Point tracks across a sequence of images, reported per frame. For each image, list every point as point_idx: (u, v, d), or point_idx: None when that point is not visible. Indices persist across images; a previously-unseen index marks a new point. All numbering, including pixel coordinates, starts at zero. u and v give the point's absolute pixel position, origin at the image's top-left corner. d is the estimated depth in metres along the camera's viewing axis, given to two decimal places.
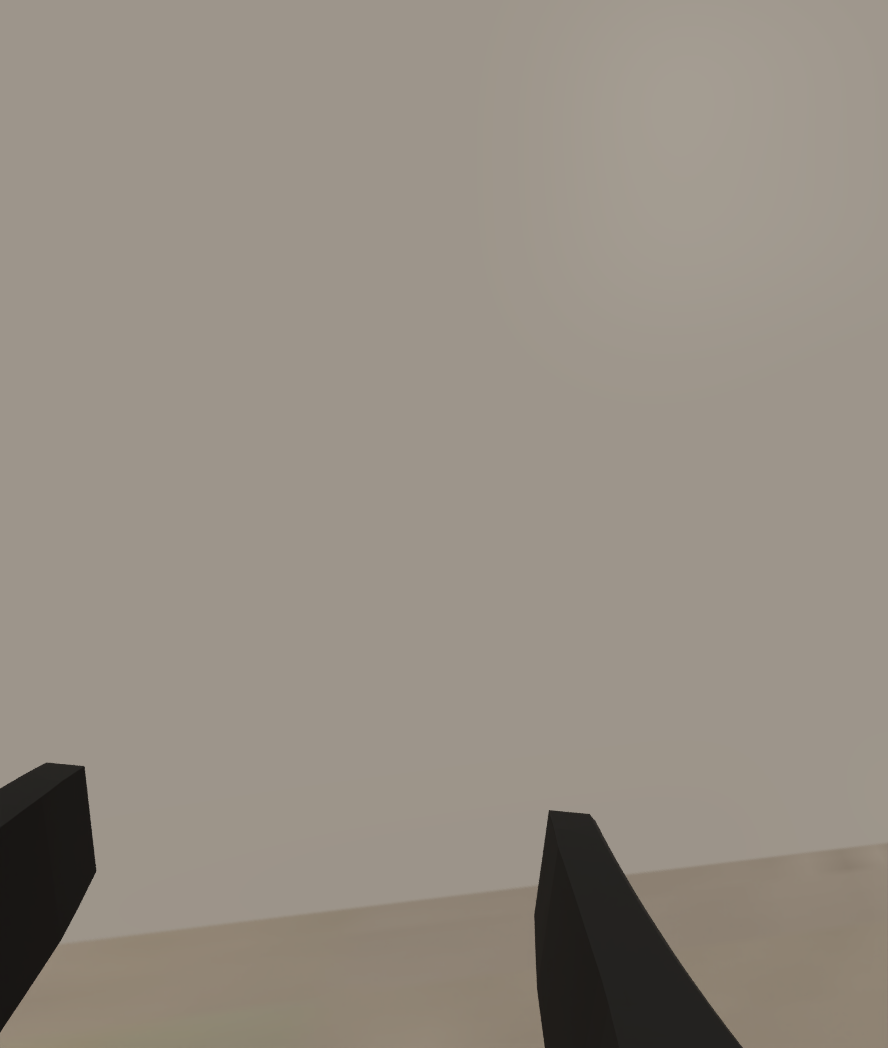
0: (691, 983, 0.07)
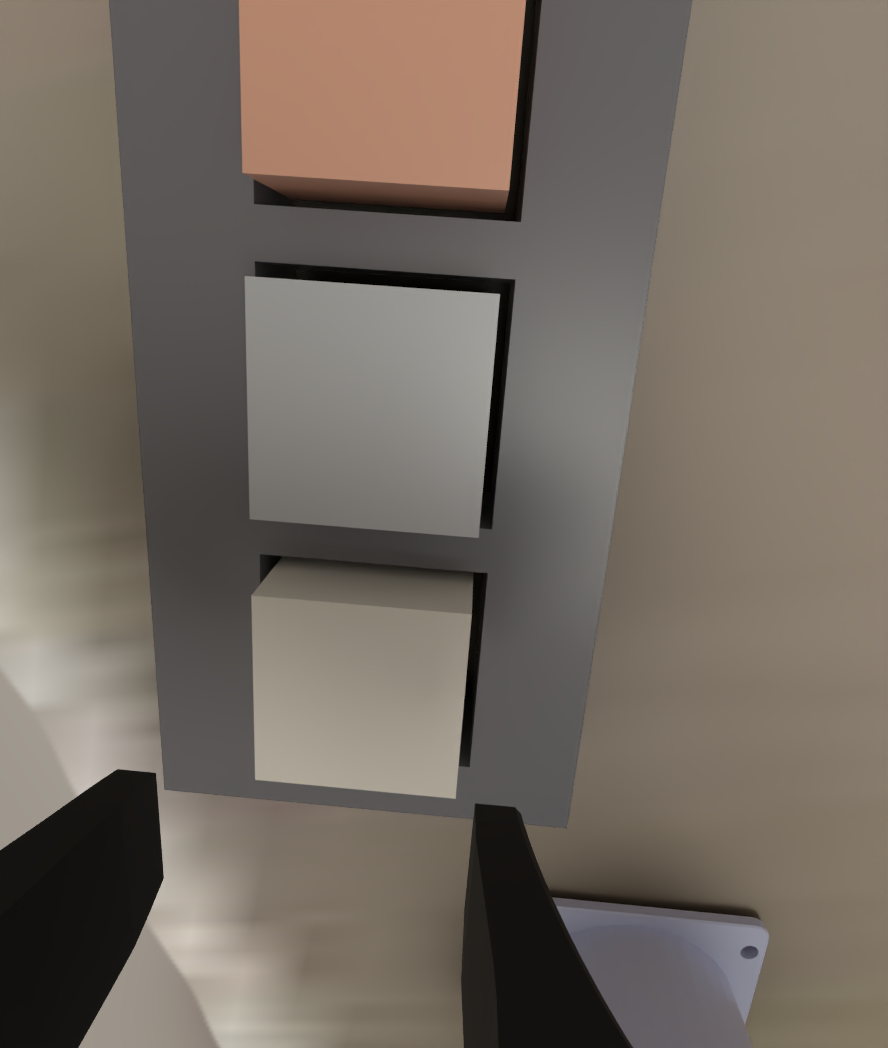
0: (584, 972, 0.07)
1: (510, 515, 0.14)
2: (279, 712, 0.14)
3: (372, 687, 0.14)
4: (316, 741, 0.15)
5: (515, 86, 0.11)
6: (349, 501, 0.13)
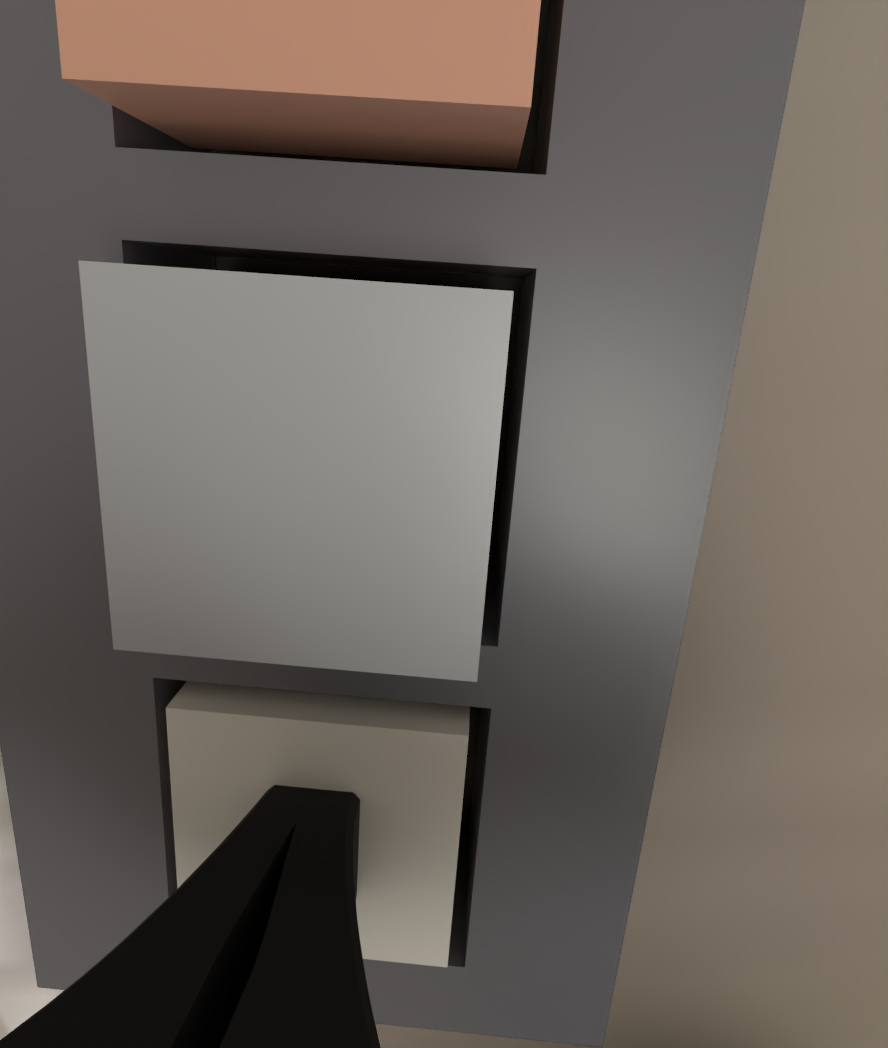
0: (351, 948, 0.07)
1: (525, 627, 0.10)
2: None
3: None
4: None
5: None
6: (270, 624, 0.08)
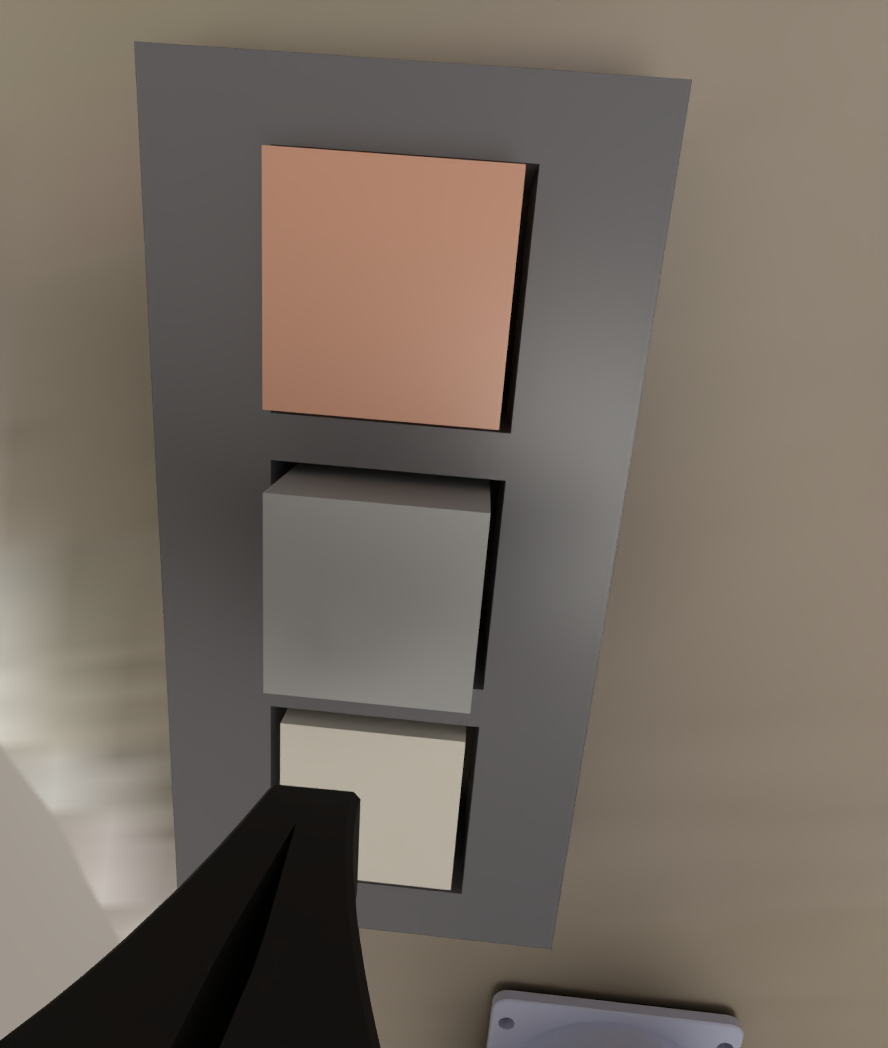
0: (351, 948, 0.07)
1: (500, 678, 0.16)
2: None
3: (381, 798, 0.17)
4: None
5: (504, 347, 0.12)
6: (353, 680, 0.14)
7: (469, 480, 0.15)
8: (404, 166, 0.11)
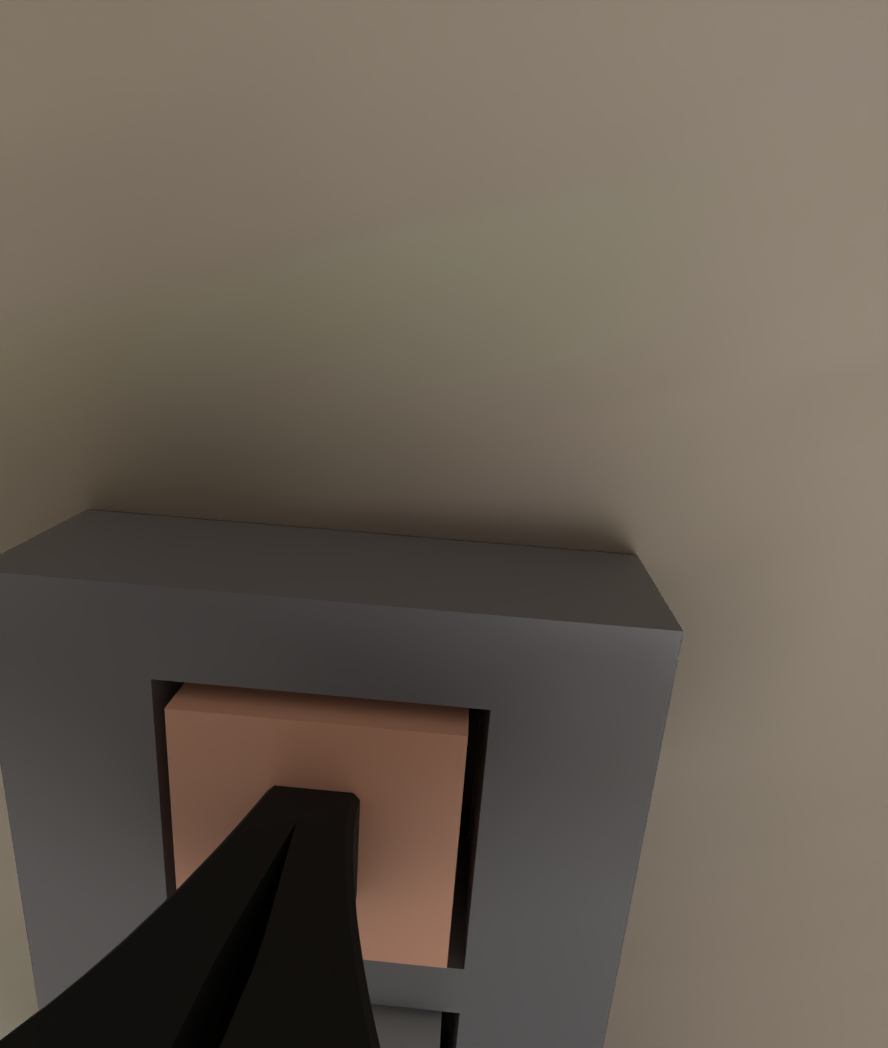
0: (351, 948, 0.07)
1: None
2: None
3: None
4: None
5: (450, 898, 0.11)
6: None
7: None
8: (328, 733, 0.10)
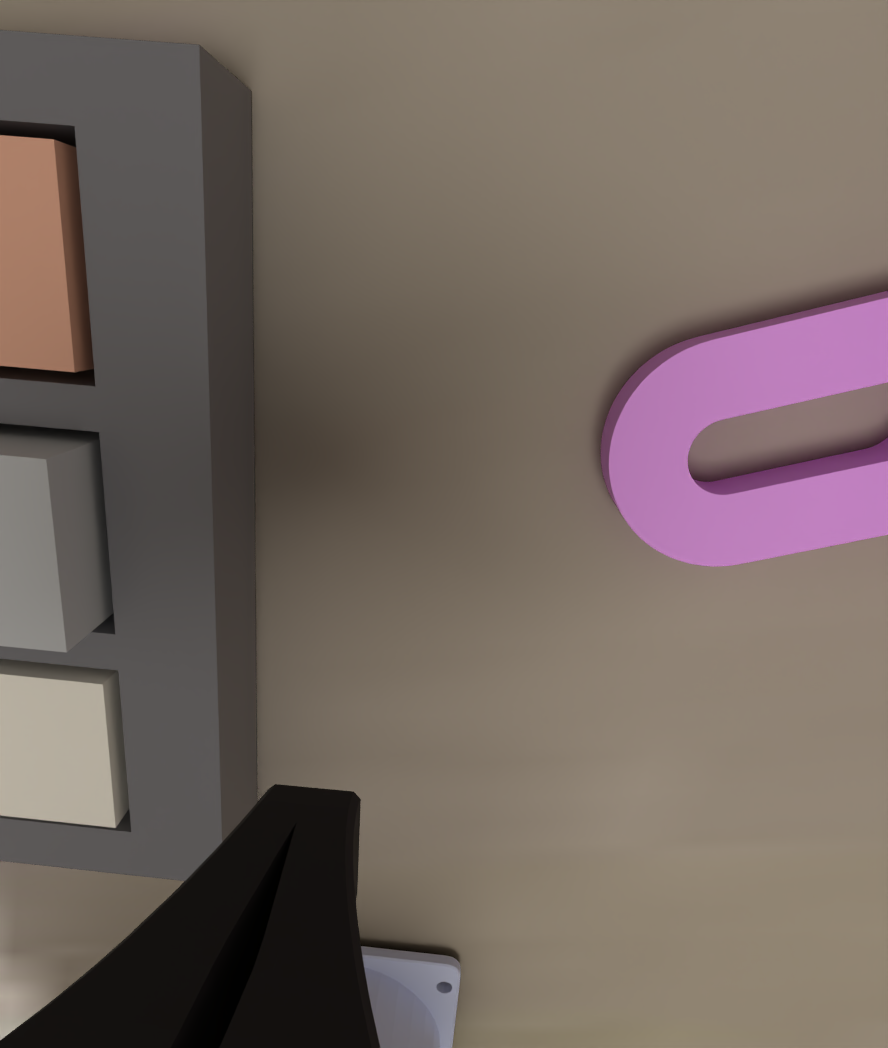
0: (351, 948, 0.07)
1: (129, 623, 0.17)
2: None
3: (35, 738, 0.18)
4: None
5: (64, 299, 0.14)
6: None
7: (90, 434, 0.16)
8: None
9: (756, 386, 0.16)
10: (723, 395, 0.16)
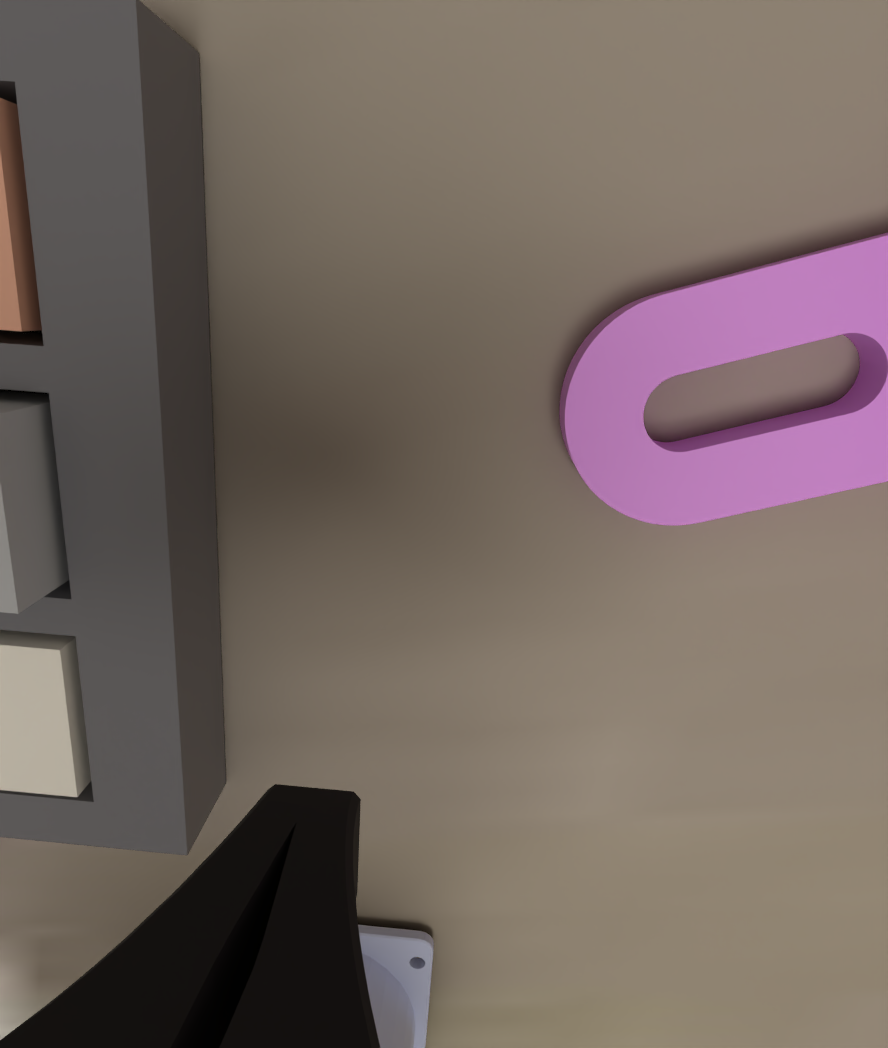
0: (351, 948, 0.07)
1: (84, 587, 0.17)
2: None
3: None
4: None
5: (9, 257, 0.14)
6: None
7: (43, 398, 0.16)
8: None
9: (709, 340, 0.16)
10: (676, 350, 0.16)
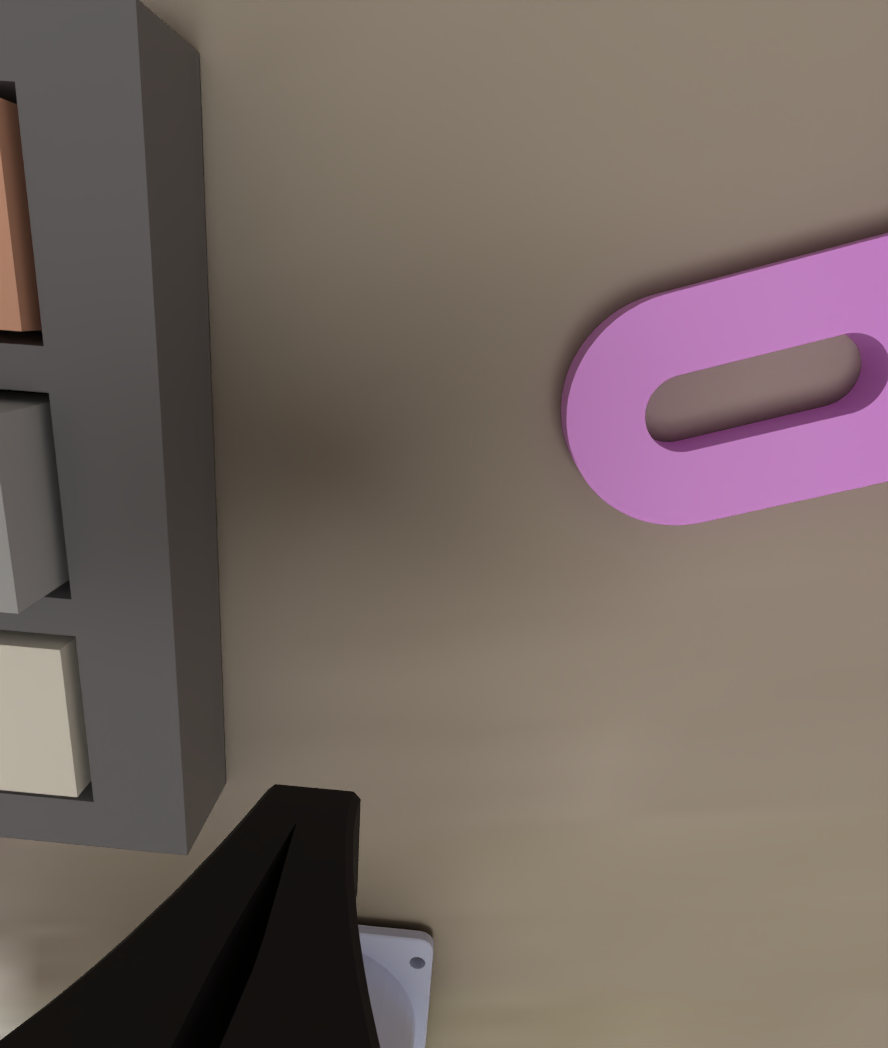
0: (351, 948, 0.07)
1: (84, 587, 0.17)
2: None
3: None
4: None
5: (9, 257, 0.14)
6: None
7: (43, 398, 0.16)
8: None
9: (711, 340, 0.16)
10: (678, 350, 0.16)
